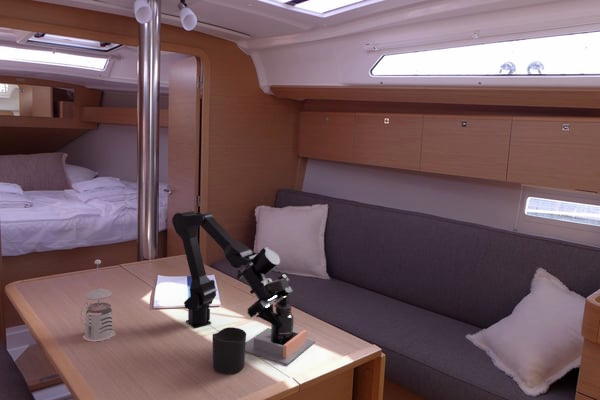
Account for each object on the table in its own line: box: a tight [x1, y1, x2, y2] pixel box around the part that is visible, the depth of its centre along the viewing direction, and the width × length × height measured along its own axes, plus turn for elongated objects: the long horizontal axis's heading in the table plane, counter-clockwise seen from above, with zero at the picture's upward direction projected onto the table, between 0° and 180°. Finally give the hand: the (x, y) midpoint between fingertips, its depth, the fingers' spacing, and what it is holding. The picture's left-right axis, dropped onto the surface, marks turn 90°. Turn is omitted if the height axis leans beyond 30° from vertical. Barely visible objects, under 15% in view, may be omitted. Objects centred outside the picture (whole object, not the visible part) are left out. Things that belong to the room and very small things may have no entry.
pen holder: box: [212, 326, 247, 375], centre depth 135 cm, size 9×9×10 cm
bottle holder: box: [245, 327, 316, 367], centre depth 150 cm, size 18×18×5 cm
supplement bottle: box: [270, 303, 295, 345], centre depth 149 cm, size 7×7×12 cm
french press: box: [80, 259, 115, 340], centre depth 150 cm, size 10×12×25 cm
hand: (286, 323), depth 148 cm, fingers closed on supplement bottle, 7 cm apart
